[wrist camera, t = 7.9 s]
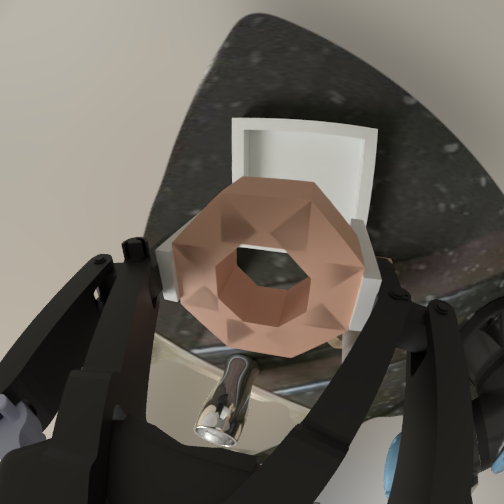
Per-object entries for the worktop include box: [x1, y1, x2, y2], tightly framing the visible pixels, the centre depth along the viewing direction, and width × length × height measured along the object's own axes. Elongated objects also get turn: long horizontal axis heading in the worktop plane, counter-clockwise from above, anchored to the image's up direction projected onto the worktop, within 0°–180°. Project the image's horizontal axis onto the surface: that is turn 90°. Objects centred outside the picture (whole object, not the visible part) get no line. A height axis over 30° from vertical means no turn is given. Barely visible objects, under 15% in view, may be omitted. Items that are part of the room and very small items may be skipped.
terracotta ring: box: [172, 176, 365, 358], centre depth 13 cm, size 8×8×3 cm
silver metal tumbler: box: [193, 354, 260, 447], centre depth 38 cm, size 7×7×15 cm
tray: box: [232, 118, 378, 253], centre depth 27 cm, size 14×14×3 cm
